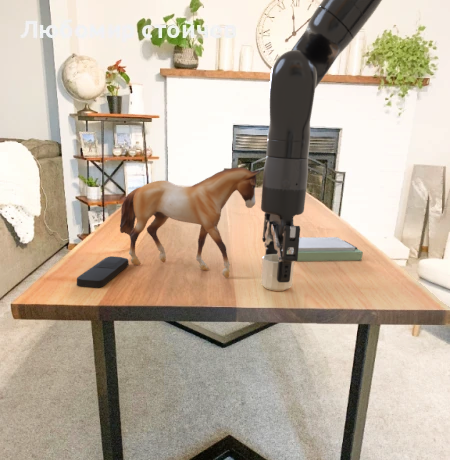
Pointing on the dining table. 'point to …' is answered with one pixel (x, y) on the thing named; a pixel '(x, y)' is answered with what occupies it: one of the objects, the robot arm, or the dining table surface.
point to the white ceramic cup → (273, 274)
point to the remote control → (102, 272)
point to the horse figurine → (186, 208)
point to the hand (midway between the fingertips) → (276, 274)
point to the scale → (326, 249)
